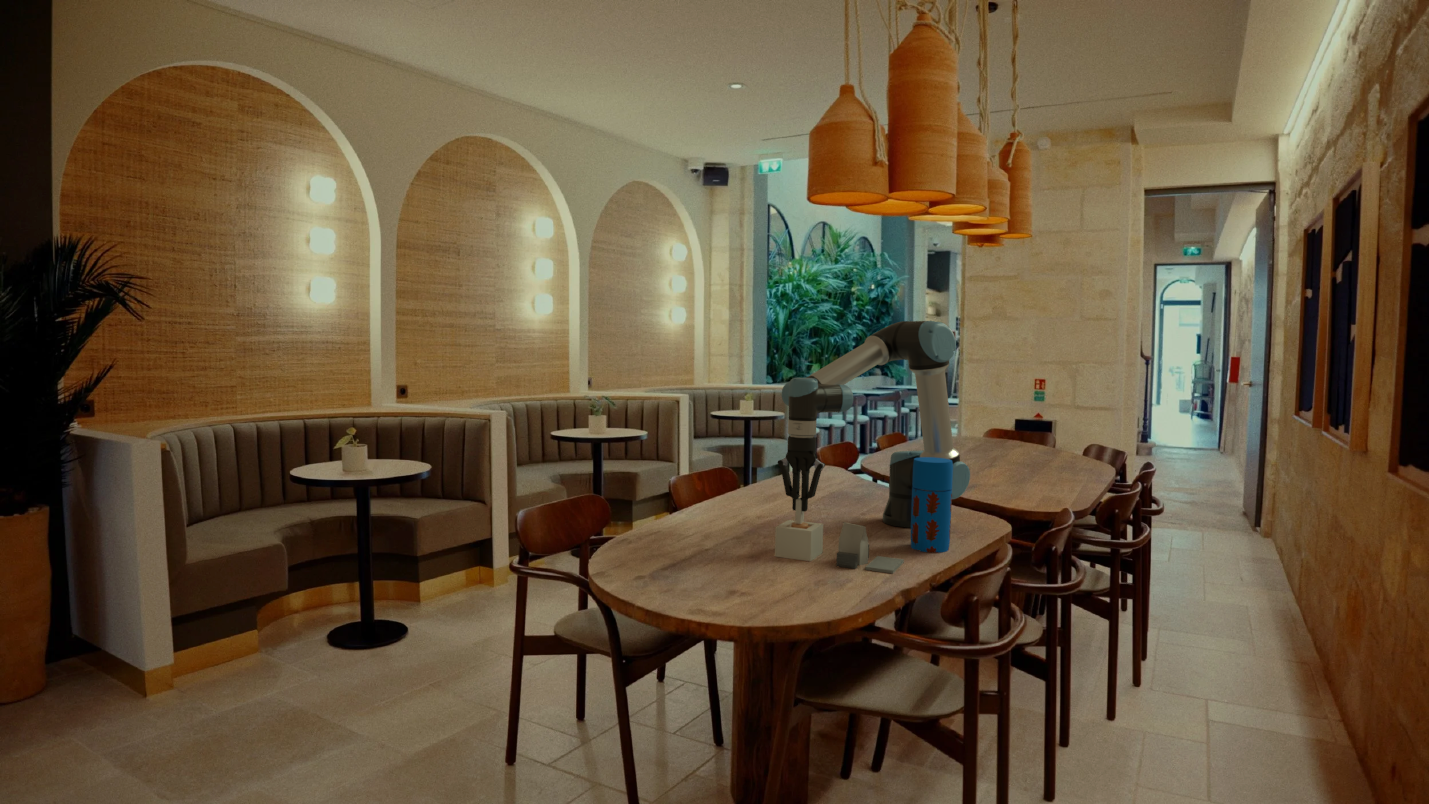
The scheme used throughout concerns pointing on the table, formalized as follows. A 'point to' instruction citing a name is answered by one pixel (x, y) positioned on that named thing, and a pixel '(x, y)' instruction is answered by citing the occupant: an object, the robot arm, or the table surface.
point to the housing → (799, 541)
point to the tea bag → (854, 541)
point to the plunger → (800, 525)
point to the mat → (885, 564)
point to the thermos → (931, 504)
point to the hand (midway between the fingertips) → (799, 522)
